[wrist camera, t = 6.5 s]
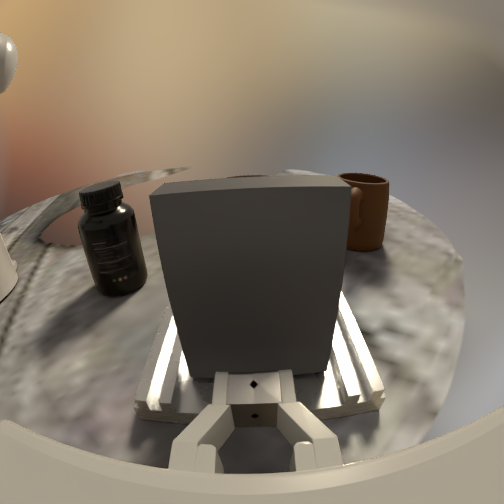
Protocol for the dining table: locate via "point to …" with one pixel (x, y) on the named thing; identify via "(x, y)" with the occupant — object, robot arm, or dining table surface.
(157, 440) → the dining table surface
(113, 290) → the supplement bottle
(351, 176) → the mug
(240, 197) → the gray rectangular block
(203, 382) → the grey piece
